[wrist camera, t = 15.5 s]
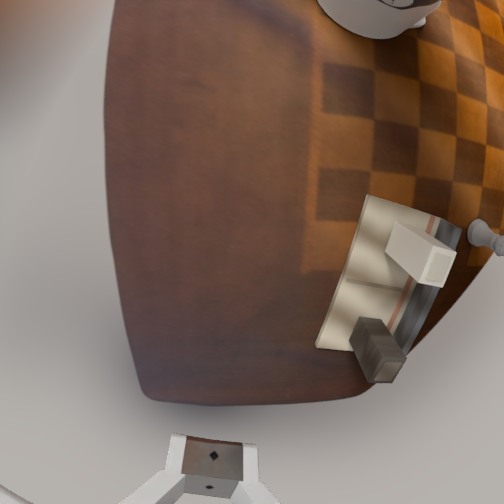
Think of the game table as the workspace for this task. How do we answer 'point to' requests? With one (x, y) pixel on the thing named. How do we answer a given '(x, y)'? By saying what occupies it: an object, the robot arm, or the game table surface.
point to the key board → (382, 278)
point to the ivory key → (420, 254)
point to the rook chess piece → (485, 237)
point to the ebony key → (376, 350)
